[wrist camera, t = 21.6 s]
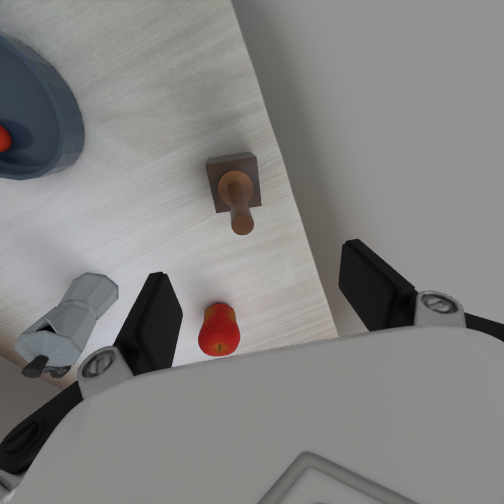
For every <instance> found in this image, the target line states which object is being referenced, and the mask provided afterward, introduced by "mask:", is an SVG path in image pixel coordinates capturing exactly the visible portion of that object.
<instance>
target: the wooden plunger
mask: <svg viewBox="0 0 504 504" xmlns="http://www.w3.org/2000/svg"><path fill="white" fill-rule="evenodd" d="M218 194H219V196H220V198H221V200H222V201H223V202H224V203H226V204H227V205H230V214H231V226H232V229H233V231H234V232H235V233H236V234H238V235H246V234H249V233H250V232H251V231H252V230H253V227H254V222H253V219H252V215H251V212H250V209H249V206H248V203H247V202H248V201H249V200H250V198H251V197H252V194H253V183H252V181H251V179H250V177H249V176H248V175H247V174H246V173H245V172H243V171H241V170H229V171H227V172H225V173H224V174H223V175H222V176H221V178H220V179H219V182H218Z"/></svg>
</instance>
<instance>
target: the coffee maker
mask: <svg viewBox="0 0 504 504" xmlns="http://www.w3.org/2000/svg"><path fill="white" fill-rule="evenodd" d="M117 299H118V286H117V285H116V284H115V283H114V282H112V281H111V280H110V279H109V278H108V277H106V276H105V275H99V274H92V273H85V274H84V275H82V276H80V277H79V278H77V279H75V280H74V281H73V283H72V284H71V286H70V288H69V289H68V291H67V292H66V294H65V295H64V297H63V299H62V300H61V302H60V303H59V305H58V307H54V308H53V309H52V310H51V311H49V312H48V313H47V314H46V315H44V316H43V317H42V318H41V319H39V320H38V321H37V322H36V323H34V324H33V325H32V326H31V327H29V328H28V329H27V330H26V331H24V332H23V333H22V334H20V336H19V338H18V340H17V342H16V345H15V347H14V349H15V350H16V351H17V352H18V353H19V354H20V355H21V356H22V357H23V358H24V359H25V360H27V361H28V362H30V363H29V364H28V365H27V366H26V367H25V368H24V369H23V370H22V372H21V373H22V374H23V375H24V376H26V377H30V378H36V377H40V375H41V373H48V372H49V371H50V374H51V376H52V377H53V378H61V377H63V376H64V375H65V374H66V373H67V372H68V371H69V370H70V369H71V366H72V365H74V364H75V363H76V361H77V360H78V358H79V357H80V355H81V353H82V352H83V350H84V348H85V345H86V343H87V341H88V339H89V337H90V335H91V332H92V330H93V328H94V326H95V324H96V321H97V320H98V319H99V318H100V317H101V316H102V315H103V314H104V313H105V312H106V311H107V310H108V309H109V308H110V306H111V305H112V304H113V303H114V302H115V301H116V300H117Z"/></svg>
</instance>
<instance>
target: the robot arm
mask: <svg viewBox="0 0 504 504" xmlns="http://www.w3.org/2000/svg"><path fill="white" fill-rule="evenodd" d="M339 288H340V290H341V291H342V293H343V294H344V296H345V297H346V299H347V300H348V302H349V303H350V304H351V306H352V307H353V309H354V310H355V312H356V313H357V314H358V316H359V317H360V319H361V320H362V322H363V323H364V324H365V326H366V327H367V329H368V330H369V332H366V333H359V334H354V335H348V336H342V337H336V338H330V339H324V340H319V341H313V342H307V343H302V344H296V345H290V346H285V347H279V348H273V349H268V350H262V351H257V352H251V353H246V354H240V355H235V356H229V357H224V358H218V359H213V360H208V361H202V362H197V363H191V364H186V365H181V366H176V367H172V362H173V358H174V353H175V349H176V344H177V340H178V335H179V331H180V326H181V322H182V317H183V312H182V309H181V306H180V304H179V302H178V299H177V297H176V294H175V292H174V290H173V287H172V285H171V282H170V280H169V278H168V275H167V274H164V273H163V272H156V273H151V274H149V276H148V278H147V280H146V282H145V284H144V286H143V288H142V290H141V292H140V294H139V296H138V298H137V299H136V301H135V303H134V305H133V307H132V309H131V310H130V312H129V314H128V316H127V318H126V320H125V322H124V324H123V326H122V328H121V330H120V332H119V334H118V336H117V338H116V340H115V342H114V344H113V346H106V347H103V348H100V349H99V350H97V351H95V352H93V353H92V354H91V355H89V356H88V357H87V358H86V359H85V360H84V361H83V362H82V364H81V365H80V367H79V369H78V371H77V381H75V382H74V383H73V384H71V385H70V386H69V387H67V388H66V389H65V390H63V391H62V392H61V393H60V394H58V395H57V396H55V397H54V398H53V399H51V400H50V401H49V402H48V403H46V404H45V405H43V406H42V407H41V408H39V409H38V410H37V411H35V412H34V413H33V414H32V415H30V416H29V417H27V418H26V419H25V420H23V421H22V422H21V423H20V424H18V425H17V426H16V427H15V428H14V429H13V430H12V431H11V432H10V433H9V434H8V435H7V436H6V437H5V438H4V440H3V441H2V442H1V444H0V504H504V324H501V323H498V322H494V321H491V320H488V319H485V318H481V317H478V316H474V315H471V314H468V313H465V312H464V310H463V307H462V305H461V304H460V303H459V302H458V301H457V300H456V299H454V298H453V297H451V296H449V295H447V294H444V293H441V292H437V291H422V292H420V293H418V292H417V291H416V290H415V287H414V286H413V285H412V284H411V283H409V282H408V281H407V280H406V279H405V278H404V277H402V276H401V275H400V274H399V273H398V272H397V271H395V270H394V269H393V268H392V267H391V266H390V265H388V264H387V263H386V262H385V261H384V260H383V259H381V258H380V257H379V256H378V255H377V254H376V253H374V252H373V251H372V250H371V249H370V248H369V247H367V246H366V245H365V244H364V243H363V242H362V241H360V240H359V239H354V240H348V241H346V242H345V244H343V246H342V254H341V264H340V274H339Z"/></svg>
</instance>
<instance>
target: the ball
mask: <svg viewBox="0 0 504 504" xmlns="http://www.w3.org/2000/svg"><path fill="white" fill-rule="evenodd" d="M11 143H12V140H11V136H10V134H9V133H8V131H7V130H6V129H5V128H4V127H3V126H1V125H0V152H3V151H6V150H7V149H9V148H10V146H11Z"/></svg>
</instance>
